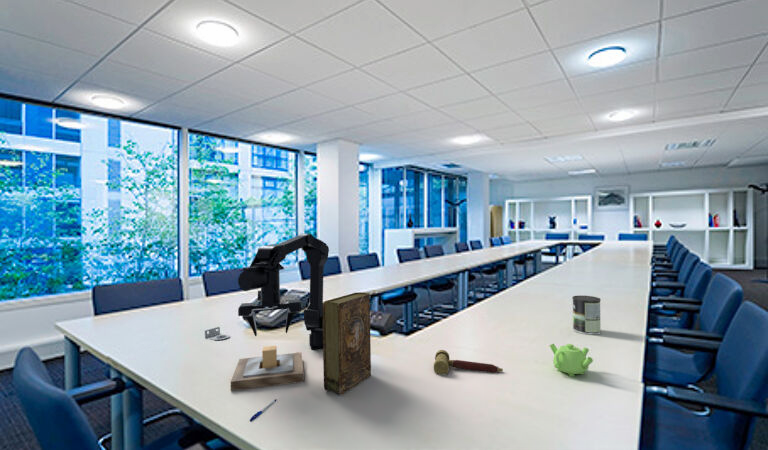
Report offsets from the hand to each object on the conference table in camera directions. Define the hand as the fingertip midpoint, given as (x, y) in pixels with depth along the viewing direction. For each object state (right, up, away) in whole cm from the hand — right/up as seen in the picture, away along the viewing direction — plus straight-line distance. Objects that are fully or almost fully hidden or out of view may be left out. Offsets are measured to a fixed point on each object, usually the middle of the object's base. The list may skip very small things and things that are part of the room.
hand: (271, 334), depth 112 cm
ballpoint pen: (+6, -12, -24) cm, 27 cm away
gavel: (+62, -11, -1) cm, 63 cm away
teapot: (+94, -11, -4) cm, 94 cm away
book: (+26, -12, -9) cm, 30 cm away
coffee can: (+121, -10, +37) cm, 127 cm away
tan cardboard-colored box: (0, -12, -2) cm, 12 cm away
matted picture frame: (0, -12, -2) cm, 12 cm away
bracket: (-34, -13, +37) cm, 52 cm away
